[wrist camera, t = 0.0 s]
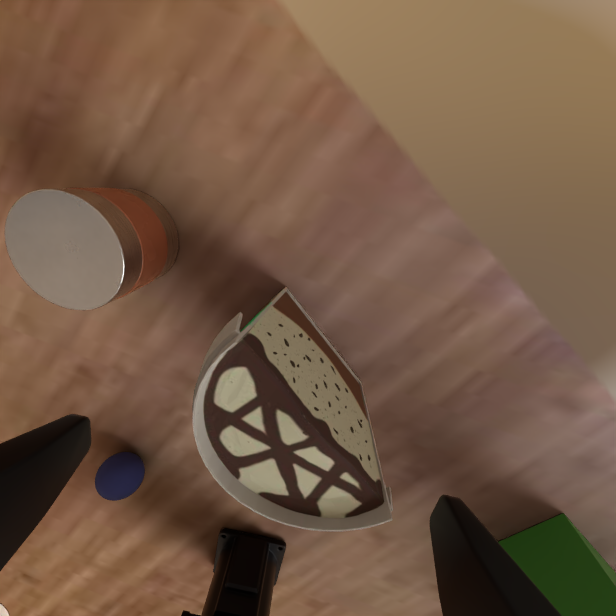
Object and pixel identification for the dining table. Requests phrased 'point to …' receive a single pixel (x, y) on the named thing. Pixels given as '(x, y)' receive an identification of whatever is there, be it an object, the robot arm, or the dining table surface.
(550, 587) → the hardback book
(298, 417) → the food container
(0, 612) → the cylindrical container
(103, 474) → the blue ball
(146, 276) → the tin can
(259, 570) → the robot arm
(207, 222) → the dining table surface
